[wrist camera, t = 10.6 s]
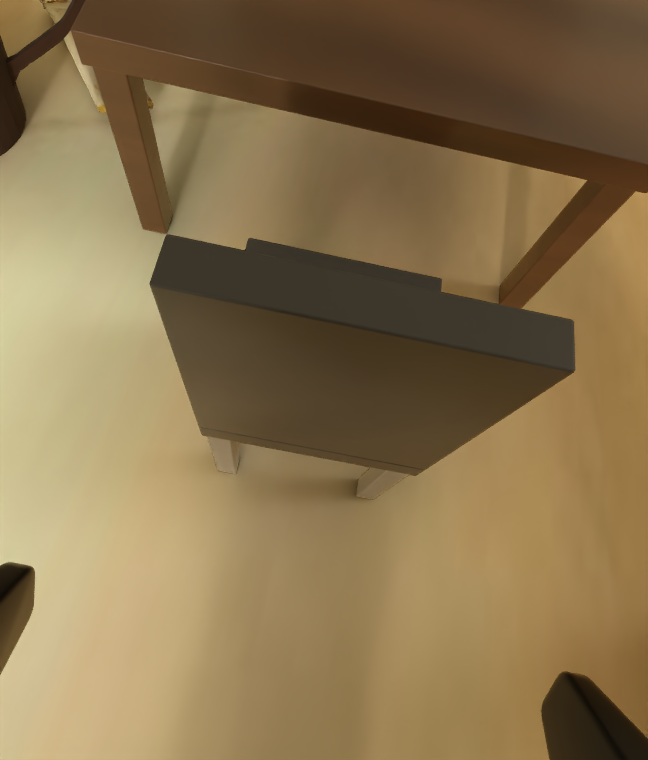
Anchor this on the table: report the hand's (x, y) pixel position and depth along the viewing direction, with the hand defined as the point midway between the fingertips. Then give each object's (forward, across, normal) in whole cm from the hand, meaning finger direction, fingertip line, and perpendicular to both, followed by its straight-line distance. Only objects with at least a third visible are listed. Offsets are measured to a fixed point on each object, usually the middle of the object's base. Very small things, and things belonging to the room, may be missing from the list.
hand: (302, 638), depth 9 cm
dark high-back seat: (+15, 0, +3) cm, 15 cm away
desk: (+25, 0, -8) cm, 27 cm away
